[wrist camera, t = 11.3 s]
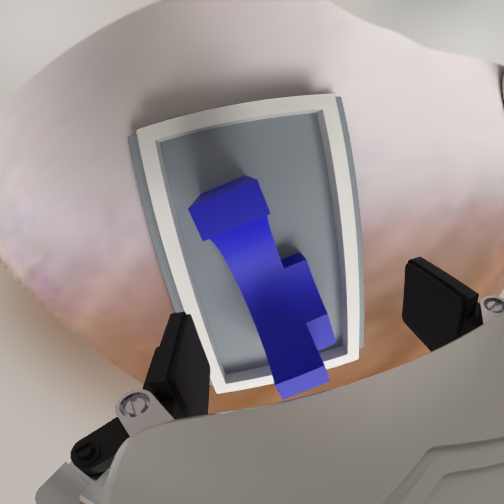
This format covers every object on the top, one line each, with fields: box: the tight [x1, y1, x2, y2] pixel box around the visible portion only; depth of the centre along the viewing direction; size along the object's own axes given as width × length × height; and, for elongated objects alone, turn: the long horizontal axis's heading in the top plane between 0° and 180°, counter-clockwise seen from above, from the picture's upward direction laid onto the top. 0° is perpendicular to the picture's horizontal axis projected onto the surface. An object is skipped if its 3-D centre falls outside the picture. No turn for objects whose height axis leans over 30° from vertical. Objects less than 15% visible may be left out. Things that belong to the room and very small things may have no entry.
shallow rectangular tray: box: [128, 94, 364, 394], centre depth 18 cm, size 14×20×2 cm
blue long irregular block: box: [188, 175, 336, 399], centre depth 15 cm, size 12×4×6 cm, turn 22°
